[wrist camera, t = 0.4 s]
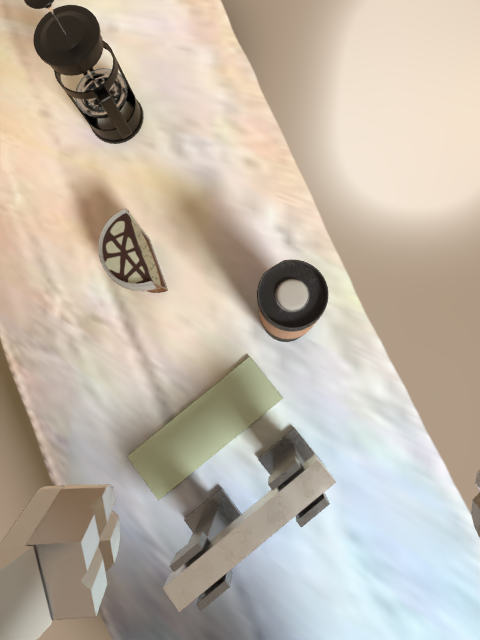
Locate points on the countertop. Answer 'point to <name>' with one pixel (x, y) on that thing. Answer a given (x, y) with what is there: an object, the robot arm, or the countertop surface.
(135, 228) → the food container
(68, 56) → the french press
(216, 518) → the posts
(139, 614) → the countertop surface
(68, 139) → the countertop surface
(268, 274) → the travel mug
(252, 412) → the mat
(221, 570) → the rail
